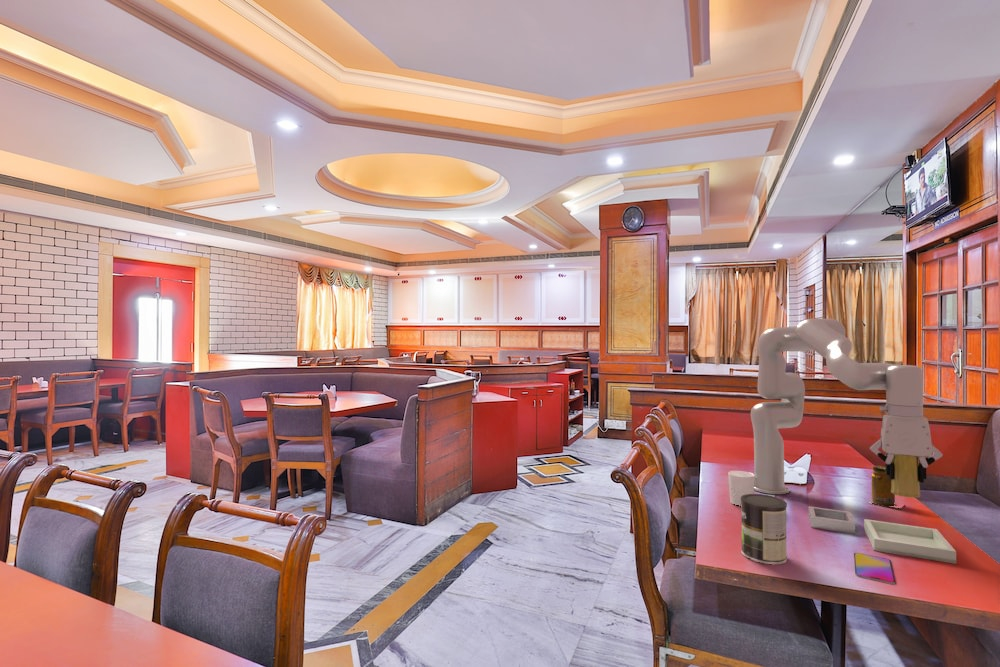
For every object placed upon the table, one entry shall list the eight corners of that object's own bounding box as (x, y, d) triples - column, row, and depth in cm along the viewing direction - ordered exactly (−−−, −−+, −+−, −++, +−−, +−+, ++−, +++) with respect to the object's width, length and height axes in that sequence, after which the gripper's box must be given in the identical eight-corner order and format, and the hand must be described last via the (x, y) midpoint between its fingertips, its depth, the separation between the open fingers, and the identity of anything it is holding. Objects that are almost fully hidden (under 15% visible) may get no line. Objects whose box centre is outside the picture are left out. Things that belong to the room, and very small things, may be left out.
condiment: (874, 499, 169) (873, 463, 169) (905, 505, 162) (904, 468, 162) (867, 503, 164) (867, 467, 164) (899, 510, 157) (899, 472, 157)
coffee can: (739, 559, 123) (739, 502, 123) (742, 544, 132) (742, 491, 132) (787, 568, 118) (786, 509, 118) (787, 552, 126) (787, 497, 127)
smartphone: (890, 559, 122) (895, 583, 110) (890, 562, 122) (895, 586, 110) (853, 551, 126) (855, 574, 114) (853, 554, 126) (855, 577, 114)
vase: (913, 499, 127) (912, 443, 127) (885, 492, 132) (885, 439, 132) (925, 495, 129) (924, 441, 130) (897, 489, 135) (897, 437, 135)
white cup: (729, 506, 162) (728, 475, 162) (727, 499, 169) (727, 469, 169) (756, 509, 159) (755, 478, 159) (753, 501, 166) (753, 471, 166)
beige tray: (874, 550, 127) (874, 538, 127) (864, 529, 141) (864, 519, 141) (956, 563, 120) (956, 551, 120) (936, 540, 134) (936, 529, 134)
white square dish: (811, 527, 143) (811, 516, 143) (808, 516, 152) (808, 506, 152) (855, 534, 138) (854, 523, 138) (849, 521, 147) (849, 511, 147)
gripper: (867, 411, 132) (867, 479, 132) (951, 415, 124) (952, 488, 123) (862, 407, 138) (863, 472, 138) (942, 411, 130) (943, 480, 130)
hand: (905, 479), depth 131 cm, fingers closed on vase, 5 cm apart
